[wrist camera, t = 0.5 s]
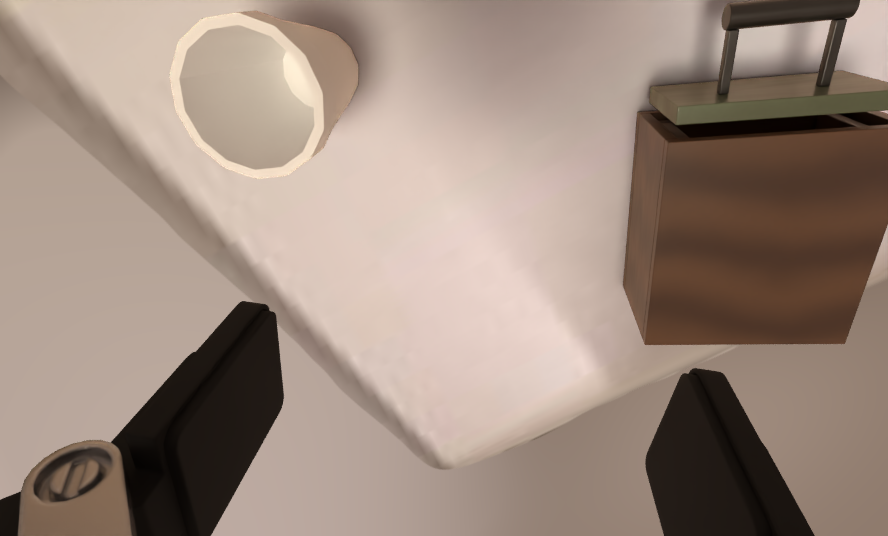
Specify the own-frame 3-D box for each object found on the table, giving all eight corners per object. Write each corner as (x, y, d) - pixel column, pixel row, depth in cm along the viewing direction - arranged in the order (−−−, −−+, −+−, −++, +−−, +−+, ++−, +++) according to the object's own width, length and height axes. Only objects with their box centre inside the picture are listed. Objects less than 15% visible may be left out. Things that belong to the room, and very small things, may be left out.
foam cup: (376, 135, 42) (326, 187, 31) (272, 122, 43) (186, 170, 32) (377, 11, 38) (319, 20, 26) (261, -1, 38) (156, 4, 27)
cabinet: (637, 111, 39) (668, 142, 31) (837, 96, 37) (923, 125, 29) (622, 285, 47) (644, 345, 39) (787, 281, 44) (845, 344, 37)
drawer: (658, 6, 35) (689, 10, 28) (865, -16, 33) (949, -17, 26) (634, 261, 44) (653, 306, 38) (793, 256, 42) (841, 302, 36)
